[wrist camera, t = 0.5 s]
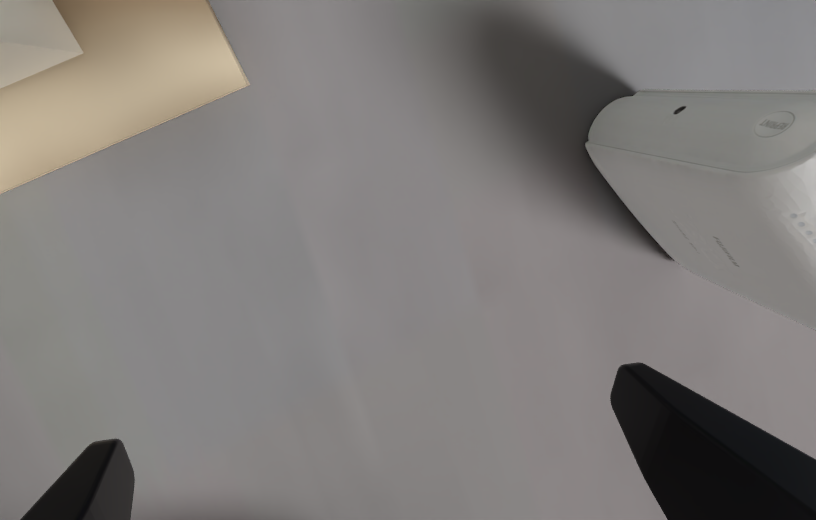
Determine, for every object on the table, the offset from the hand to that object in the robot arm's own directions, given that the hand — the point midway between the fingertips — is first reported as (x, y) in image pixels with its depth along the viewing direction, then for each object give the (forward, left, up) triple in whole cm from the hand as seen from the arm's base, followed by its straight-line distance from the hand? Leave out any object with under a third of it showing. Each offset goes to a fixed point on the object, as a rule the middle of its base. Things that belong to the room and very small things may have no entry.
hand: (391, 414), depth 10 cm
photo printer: (+3, -16, -15) cm, 22 cm away
